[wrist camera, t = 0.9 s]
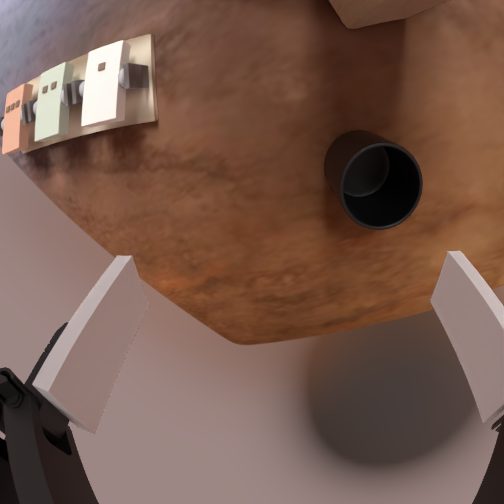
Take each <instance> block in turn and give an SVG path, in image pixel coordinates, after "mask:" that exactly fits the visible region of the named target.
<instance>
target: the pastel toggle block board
mask: <svg viewBox="0 0 504 504" xmlns="http://www.w3.org/2000/svg"><path fill="white" fill-rule="evenodd" d="M125 42H126V43H128V44H129V45H131V48H130V56H129V63H126V64H123V65H124V86H125V89H126V101H125V120H123V121H118V122H114V123H109V124H105V125H100V126H96V127H92V128H89V127H82V126H81V122H82V105H83V98H82V97H81V96H80V93H79V86H80V84H81V83H82V82H83V81H85V75H86V68H87V61H88V55H89V53H88V54H86V55H83V56H81V57H78V58H76V59H74V60H71V61H69V62H67V63H70V64H72V65H74V72H73V79H72V82H71V83H68V84H64V85H63V90H64V104H65V107H69V106H70V108H69V124H68V134H66V135H63V136H60V137H57V138H54V139H50V140H47V141H44V142H35V122H36V115H35V114H34V112H33V105H34V103H35V102H36V101H37V100H38V92H39V84H40V78H41V75H40V76H39V77H37V78H35V79H33V80H31V81H29V82H28V83H26V84H31V85H33V90H32V98H31V101H28V102H27V103H25V104H22V105H21V108H22V118H23V124H27V123H29V134H28V148H25V149H22V154H24V153H27V152H29V151H32V150H35V149H38V148H41V147H44V146H47V145H50V144H54V143H57V142H60V141H64V140H67V139H71V138H74V137H78V136H82V135H86V134H90V133H94V132H99V131H103V130H108V129H112V128H117V127H122V126H127V125H133V124H139V123H145V122H151V121H157V120H158V108H157V93H156V75H155V44H154V35H152V34H148V35H144V36H140V37H136V38H133V39H129V40H126V41H125ZM3 119H4V117H2V118H0V136H3V130H2V128H1V122H2V120H3Z"/></svg>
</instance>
